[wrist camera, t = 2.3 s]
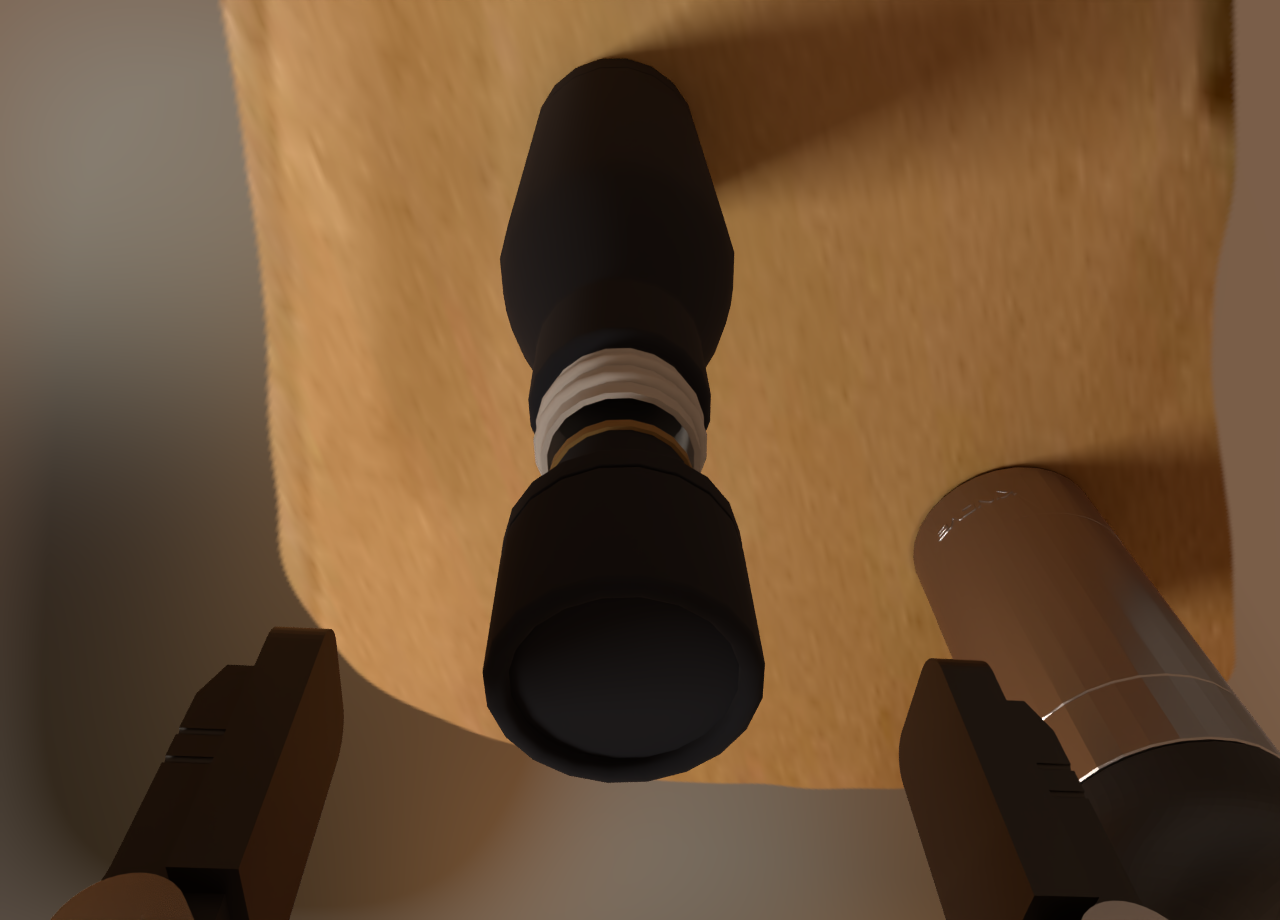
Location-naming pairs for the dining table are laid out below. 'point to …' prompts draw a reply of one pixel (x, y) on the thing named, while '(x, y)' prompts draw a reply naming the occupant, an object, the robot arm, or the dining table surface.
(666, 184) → the black bottle
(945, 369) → the dining table surface
